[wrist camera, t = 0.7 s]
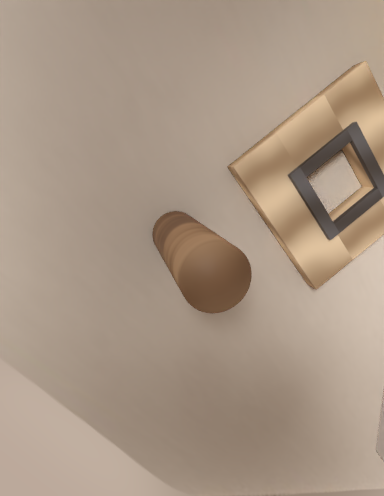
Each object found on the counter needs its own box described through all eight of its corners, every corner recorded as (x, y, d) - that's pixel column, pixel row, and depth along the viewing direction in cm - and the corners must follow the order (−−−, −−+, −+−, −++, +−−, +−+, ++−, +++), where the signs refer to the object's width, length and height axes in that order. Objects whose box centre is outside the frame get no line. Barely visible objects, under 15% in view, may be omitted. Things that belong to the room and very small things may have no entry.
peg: (143, 231, 34) (164, 275, 21) (179, 201, 34) (224, 227, 21) (171, 265, 35) (208, 327, 22) (206, 237, 36) (264, 281, 22)
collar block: (227, 166, 34) (235, 167, 32) (353, 65, 35) (370, 59, 33) (307, 284, 39) (319, 291, 37) (416, 194, 40) (434, 196, 38)
